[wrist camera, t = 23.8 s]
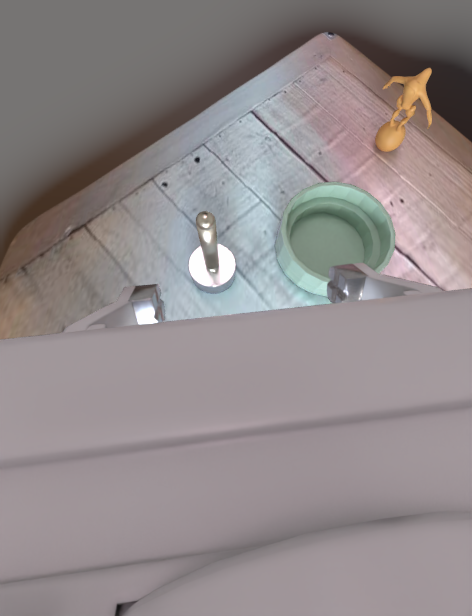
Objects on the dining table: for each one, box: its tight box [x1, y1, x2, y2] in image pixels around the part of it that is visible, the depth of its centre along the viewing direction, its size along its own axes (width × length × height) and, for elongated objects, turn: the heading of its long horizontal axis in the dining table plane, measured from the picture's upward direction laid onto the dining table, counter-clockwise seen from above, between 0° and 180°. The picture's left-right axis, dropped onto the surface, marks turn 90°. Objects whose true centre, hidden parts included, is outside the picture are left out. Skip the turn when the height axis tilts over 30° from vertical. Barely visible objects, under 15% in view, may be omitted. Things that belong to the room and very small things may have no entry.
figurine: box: [375, 68, 432, 152], centre depth 37 cm, size 8×6×12 cm
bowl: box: [275, 182, 395, 296], centre depth 36 cm, size 14×14×5 cm
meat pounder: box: [189, 211, 236, 294], centre depth 30 cm, size 6×6×14 cm
